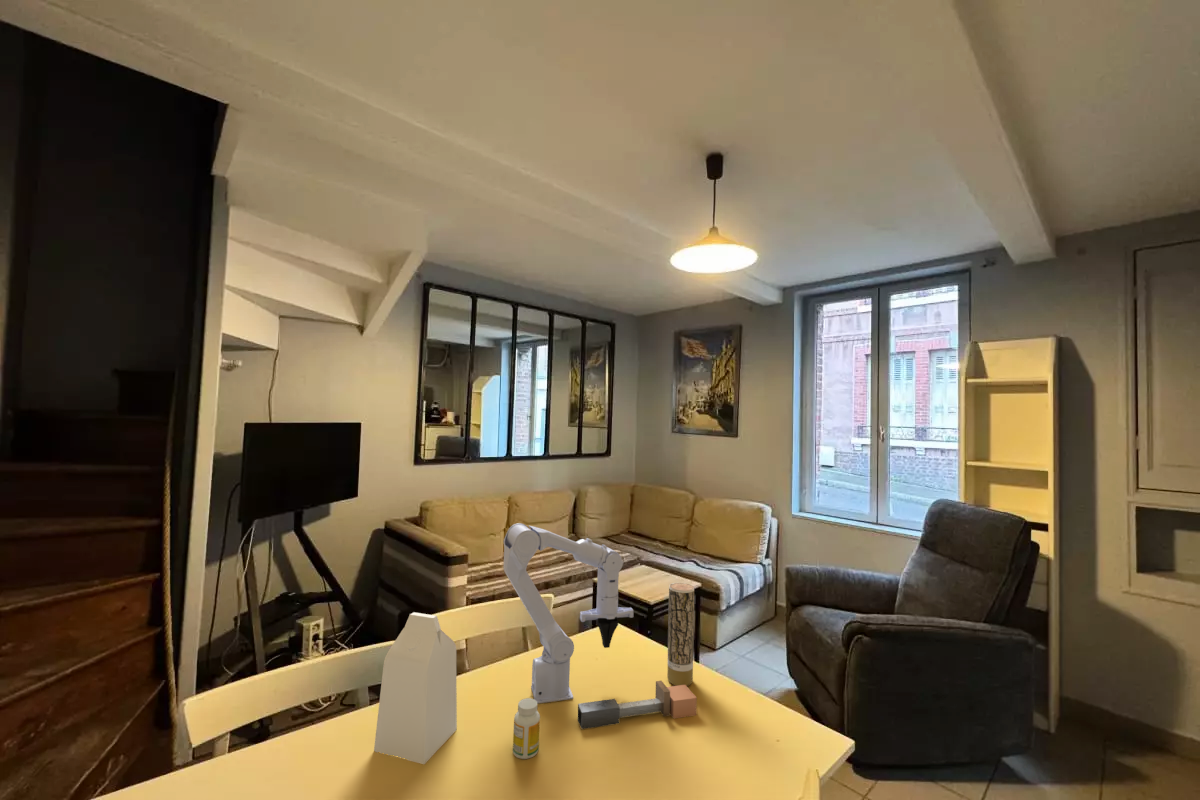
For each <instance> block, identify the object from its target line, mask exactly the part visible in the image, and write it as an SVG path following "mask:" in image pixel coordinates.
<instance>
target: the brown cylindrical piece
mask: <svg viewBox="0 0 1200 800" xmlns="http://www.w3.org/2000/svg"><path fill="white" fill-rule="evenodd" d="M694 618H695V586H694V585H692V584H689V583H685V582H673V583H670V584H669V587H668V618H667V619H668V624H667V625H668V627H667V628H668V629H667V677H666V678H667V680H668V681H669V683H671V684H672V685H673V686H678V685H686V686H687V687H688V686H690V685H691V684H692V683H693V678H694V674H693V673H694V631H695V630H694V629H695V627H694V625H695V623H694V622H695V619H694Z"/></svg>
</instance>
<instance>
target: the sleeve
mask: <svg viewBox="0 0 1200 800" xmlns="http://www.w3.org/2000/svg"><path fill="white" fill-rule="evenodd" d="M618 704H619V703H618V701H617V700H616V698H609V699H603V700H596V701H595V700H594V701H590V702H589V701H588V702H581V703H577V722H578V725H579V727H580V729H581V730H586V729H593V728H594V729H595V728H600V727H605V726H611V725H618V724H620V719H621V718H620V707H619V705H618Z"/></svg>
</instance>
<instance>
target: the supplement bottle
mask: <svg viewBox="0 0 1200 800" xmlns="http://www.w3.org/2000/svg"><path fill="white" fill-rule="evenodd" d="M540 722H541V715H540V713H539V711H538V704H537V701H536V700H535V699H534V698H531V697H529V698H528V697H527V698H523V699H521V700H519V701H518V704H517V712H516V713H515V715H514V717H513V737H512V754H513V755H514V756H515V757H516V758H518V759H521V760H526V759H531V758H533V757H535V756H536V755H537V754H538V752H539V747H540V725H541V723H540Z"/></svg>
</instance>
